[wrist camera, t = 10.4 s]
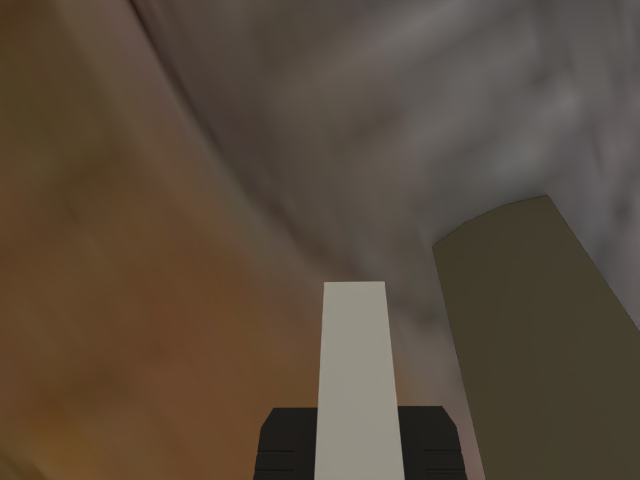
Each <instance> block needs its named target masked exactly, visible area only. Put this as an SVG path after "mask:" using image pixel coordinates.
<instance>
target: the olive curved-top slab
mask: <svg viewBox="0 0 640 480" xmlns="http://www.w3.org/2000/svg"><path fill="white" fill-rule="evenodd" d="M432 249H433V253H434V258H435V262H436V266H437V271H438V275H439V279H440V284H441V288H442V292H443V297H444V301H445V305H446V310H447V314H448V318H449V323H450V327H451V331H452V336H453V340H454V344H455V348H456V353H457V357H458V361H459V366H460V370H461V374H462V379H463V383H464V387H465V392H466V396H467V400H468V405H469V409H470V413H471V418H472V422H473V426H474V431H475V435H476V439H477V444H478V448H479V452H480V457H481V461H482V465H483V470H484V474H485V478H486V480H640V331H639V330H638V328H637V327H636V325H635V324H634V322H633V321H632V319H631V318H630V316H629V315H628V313H627V312H626V310H625V309H624V308H623V306H622V305H621V303H620V302H619V300H618V299H617V297H616V296H615V294H614V293H613V291H612V290H611V288H610V287H609V285H608V284H607V282H606V281H605V279H604V278H603V276H602V275H601V273H600V272H599V270H598V269H597V267H596V266H595V264H594V263H593V261H592V260H591V259H590V257H589V256H588V254H587V253H586V251H585V250H584V248H583V247H582V245H581V244H580V242H579V241H578V239H577V238H576V236H575V235H574V233H573V232H572V230H571V229H570V227H569V226H568V224H567V223H566V221H565V220H564V218H563V217H562V215H561V214H560V212H559V211H558V209H557V208H556V207H555V205H554V204H553V202H552V201H551V199H550V198H549V196H548V195H547V196H542V197H538V198H533V199H529V200H524V201H520V202H515V203H510V204H506V205H503V206H500V207H498V208H496V209H494V210H492V211H489V212H487V213H485V214H483V215H480V216H478V217H476V218H474V219H472V220H469V221H467V222H465V223H464V224H462V225H461V226H460V227H458V228H457V229H456V230H454V231H453V232H452V233H450V234H449V235H447V236H446V237H445V238H443V239H442V240H441V241H439V242H438V243H437V244H435V245H434V246H433V247H432Z"/></svg>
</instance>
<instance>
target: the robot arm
mask: <svg viewBox="0 0 640 480" xmlns="http://www.w3.org/2000/svg"><path fill="white" fill-rule="evenodd" d="M253 480H467V475H466V473H465V466H464V461H463V456H462V454H461V446H460V442H459V437H458V432H457V427H456V425H455V424H454V422H453V421H452V420H451V418H450V417H449V415H448V414H447V412H446V411H445V410H444V408H443V407H442V406H397V400H396V390H395V380H394V370H393V360H392V351H391V341H390V331H389V321H388V311H387V302H386V292H385V282H324V299H323V319H322V339H321V359H320V379H319V398H318V408H273V410H272V411H271V413H270V414H269V416H268V418H267V419H266V421H265V422H264V424H263V425H262V427H261V431H260V438H259V444H258V454H257V457H256V464H255V474H254V477H253Z"/></svg>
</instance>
